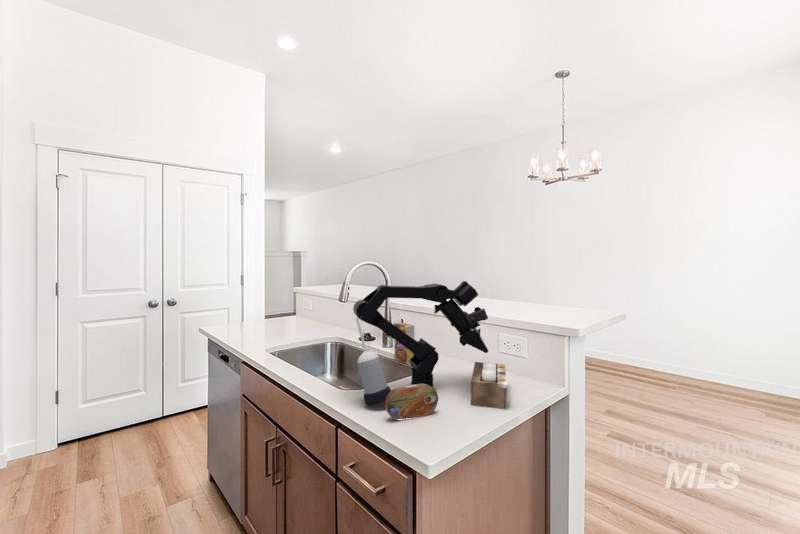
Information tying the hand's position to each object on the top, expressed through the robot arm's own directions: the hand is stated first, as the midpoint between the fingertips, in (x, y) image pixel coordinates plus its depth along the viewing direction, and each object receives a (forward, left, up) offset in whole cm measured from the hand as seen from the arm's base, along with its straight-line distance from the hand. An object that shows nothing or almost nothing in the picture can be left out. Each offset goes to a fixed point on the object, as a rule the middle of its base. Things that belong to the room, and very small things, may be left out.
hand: (487, 352), depth 123 cm
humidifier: (-35, -13, -11) cm, 39 cm away
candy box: (-26, +31, -12) cm, 42 cm away
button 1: (-2, -11, -7) cm, 13 cm away
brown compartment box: (0, -5, -12) cm, 13 cm away
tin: (-25, -20, -12) cm, 35 cm away
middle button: (0, -5, -7) cm, 9 cm away
